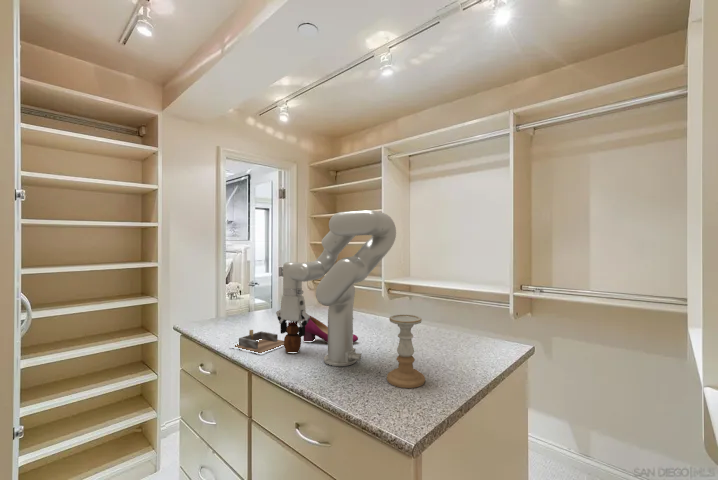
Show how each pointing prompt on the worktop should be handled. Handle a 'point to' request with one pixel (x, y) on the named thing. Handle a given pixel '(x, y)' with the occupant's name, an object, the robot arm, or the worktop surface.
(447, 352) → the worktop surface
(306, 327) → the high heel
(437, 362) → the worktop surface
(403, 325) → the candle holder
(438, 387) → the worktop surface
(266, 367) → the worktop surface
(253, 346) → the board
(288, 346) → the wooden figurine
